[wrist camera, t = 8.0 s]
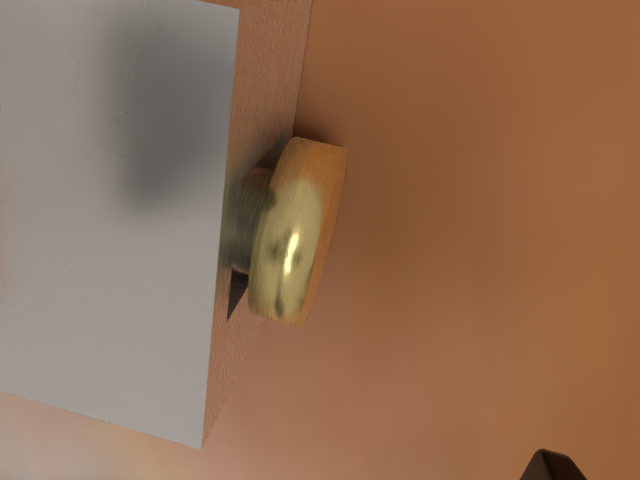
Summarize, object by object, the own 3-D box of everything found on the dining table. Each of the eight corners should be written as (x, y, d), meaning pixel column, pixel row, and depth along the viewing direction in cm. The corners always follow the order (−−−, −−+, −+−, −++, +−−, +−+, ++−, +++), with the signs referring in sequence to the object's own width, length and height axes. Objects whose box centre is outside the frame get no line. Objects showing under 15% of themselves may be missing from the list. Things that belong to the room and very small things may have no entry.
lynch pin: (326, 268, 16) (289, 366, 12) (-72, 167, 17) (-222, 226, 13) (356, 126, 13) (323, 189, 10) (-102, 22, 15) (-293, 41, 11)
